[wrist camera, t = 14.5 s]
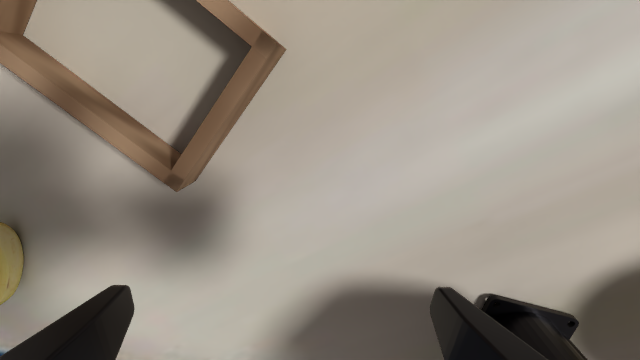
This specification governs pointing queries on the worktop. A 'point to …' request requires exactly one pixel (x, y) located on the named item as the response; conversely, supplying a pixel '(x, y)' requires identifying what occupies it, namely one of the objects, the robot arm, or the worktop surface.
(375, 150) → the worktop surface
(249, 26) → the frame
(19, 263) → the banana
